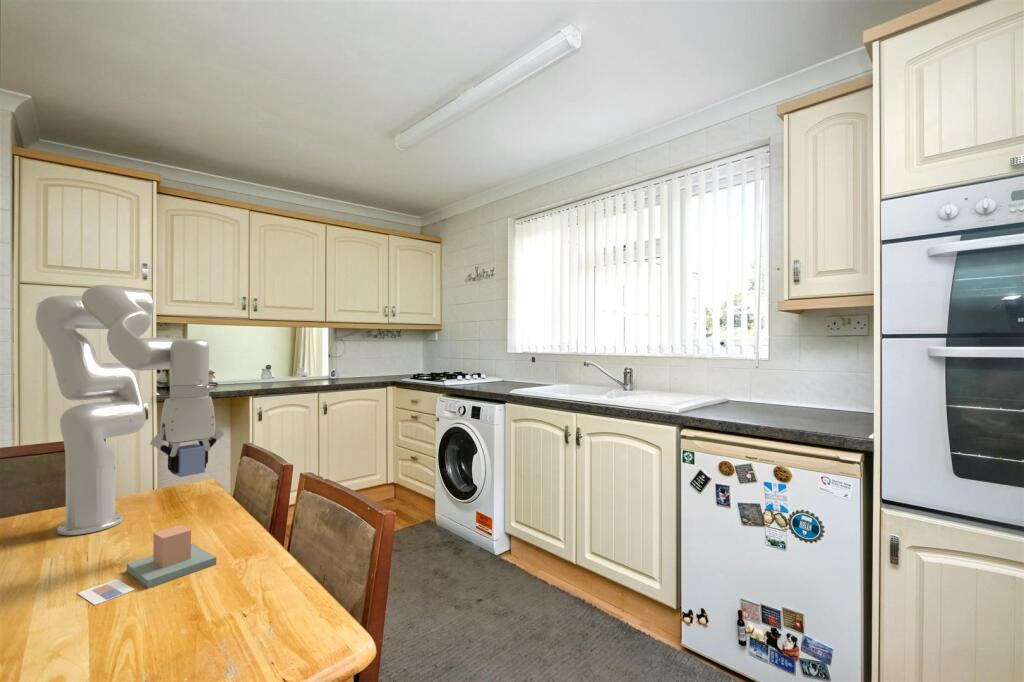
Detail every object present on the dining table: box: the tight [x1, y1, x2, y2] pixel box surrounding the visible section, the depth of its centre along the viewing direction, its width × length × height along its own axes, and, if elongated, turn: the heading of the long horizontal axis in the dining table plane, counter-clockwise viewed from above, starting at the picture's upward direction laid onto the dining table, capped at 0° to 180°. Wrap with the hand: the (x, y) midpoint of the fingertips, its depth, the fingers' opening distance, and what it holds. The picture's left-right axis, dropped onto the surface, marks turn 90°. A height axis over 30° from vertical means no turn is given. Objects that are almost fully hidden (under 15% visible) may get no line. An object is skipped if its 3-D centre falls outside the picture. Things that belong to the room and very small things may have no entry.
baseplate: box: [126, 542, 217, 589], centre depth 99 cm, size 12×12×2 cm
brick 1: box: [152, 524, 192, 568], centre depth 99 cm, size 5×5×6 cm
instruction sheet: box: [77, 578, 135, 606], centre depth 89 cm, size 8×6×1 cm
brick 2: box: [171, 443, 206, 478], centre depth 110 cm, size 5×5×6 cm
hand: (188, 469), depth 110 cm, fingers closed on brick 2, 5 cm apart
